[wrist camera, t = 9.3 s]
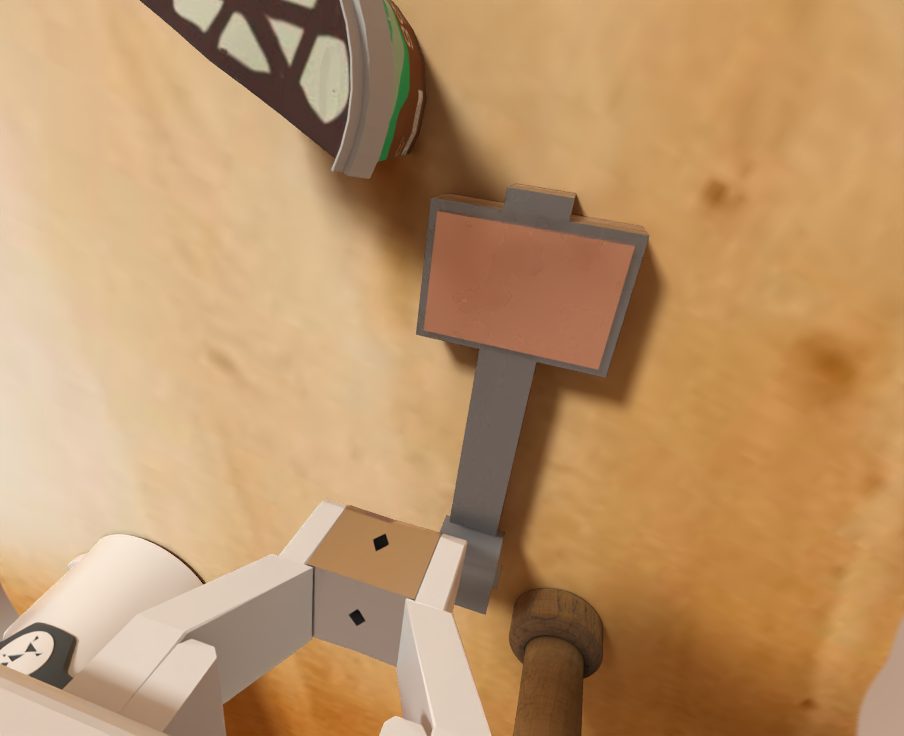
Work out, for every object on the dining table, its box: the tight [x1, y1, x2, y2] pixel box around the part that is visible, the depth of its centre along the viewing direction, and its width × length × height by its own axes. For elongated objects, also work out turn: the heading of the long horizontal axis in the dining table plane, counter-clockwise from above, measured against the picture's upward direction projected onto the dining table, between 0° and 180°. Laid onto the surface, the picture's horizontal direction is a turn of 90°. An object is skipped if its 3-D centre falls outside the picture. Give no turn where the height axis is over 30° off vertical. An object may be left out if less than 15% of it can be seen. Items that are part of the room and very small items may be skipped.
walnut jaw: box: [440, 184, 646, 615], centre depth 27 cm, size 25×10×6 cm, turn 172°
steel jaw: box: [416, 186, 649, 536], centre depth 26 cm, size 20×10×2 cm, turn 172°
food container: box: [140, 0, 426, 179], centre depth 19 cm, size 12×6×10 cm, turn 54°
